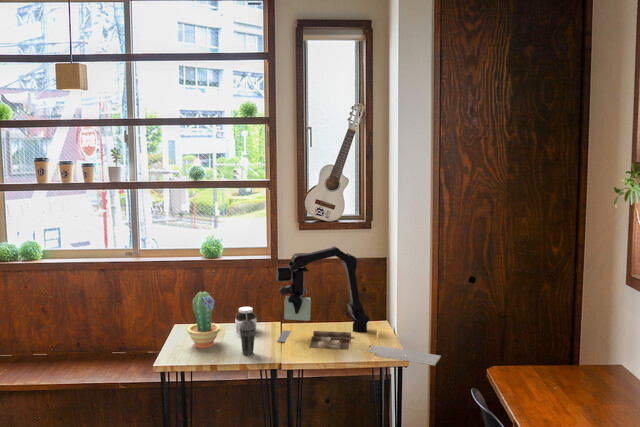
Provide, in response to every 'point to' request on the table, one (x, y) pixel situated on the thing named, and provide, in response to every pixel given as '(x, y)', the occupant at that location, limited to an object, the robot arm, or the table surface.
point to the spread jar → (244, 317)
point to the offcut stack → (329, 343)
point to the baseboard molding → (400, 355)
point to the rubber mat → (283, 336)
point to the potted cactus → (203, 321)
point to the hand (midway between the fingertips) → (297, 312)
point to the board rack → (341, 336)
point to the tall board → (303, 312)
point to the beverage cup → (247, 336)
